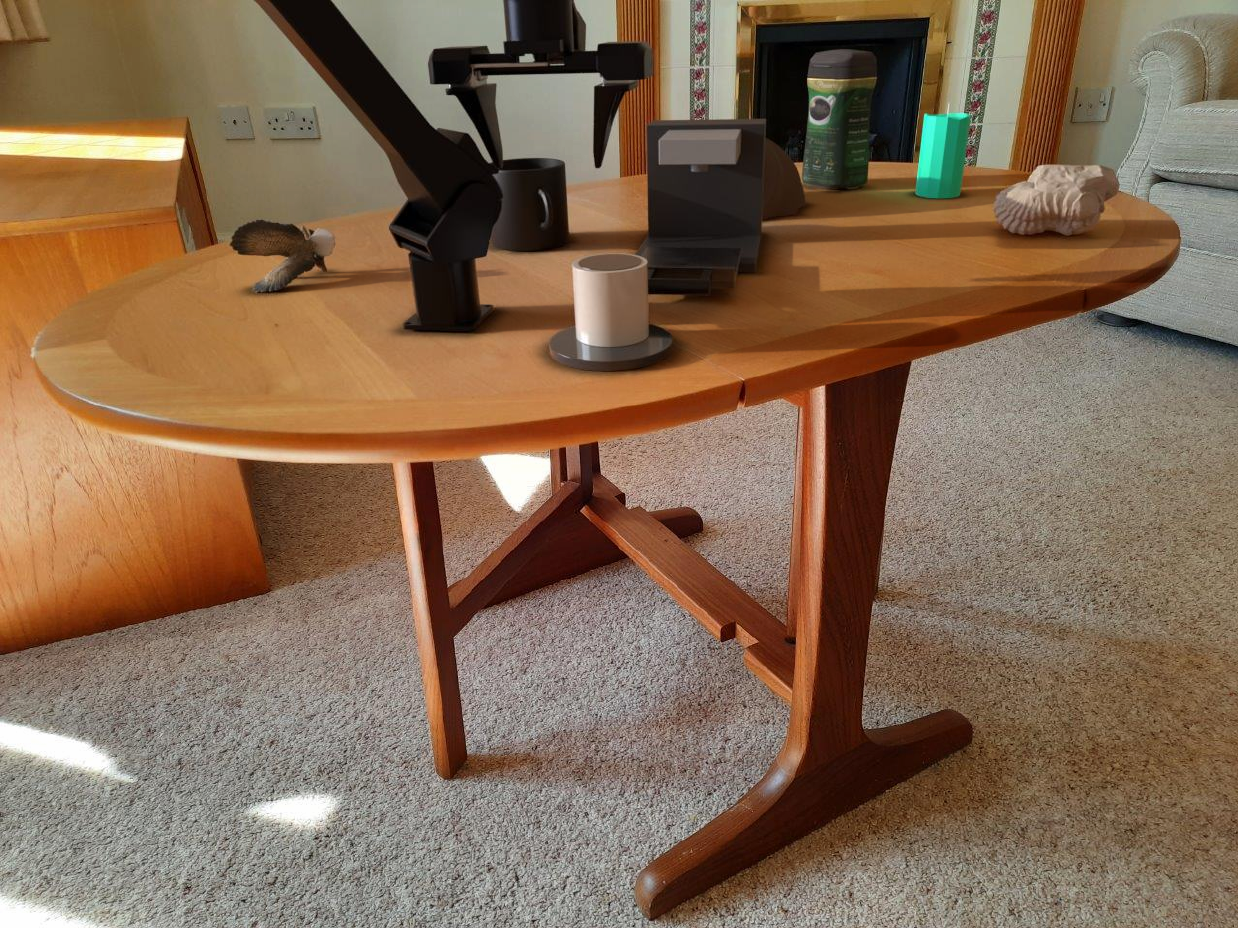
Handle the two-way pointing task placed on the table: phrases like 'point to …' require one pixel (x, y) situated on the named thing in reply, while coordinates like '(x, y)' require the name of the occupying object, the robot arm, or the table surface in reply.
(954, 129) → the candle
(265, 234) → the eagle figurine
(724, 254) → the tray
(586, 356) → the coaster
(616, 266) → the white cup
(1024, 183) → the fossil replica
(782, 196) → the decorative dome
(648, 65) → the robot arm
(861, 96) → the coffee jar
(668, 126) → the coffee machine
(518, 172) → the mug
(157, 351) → the table surface
